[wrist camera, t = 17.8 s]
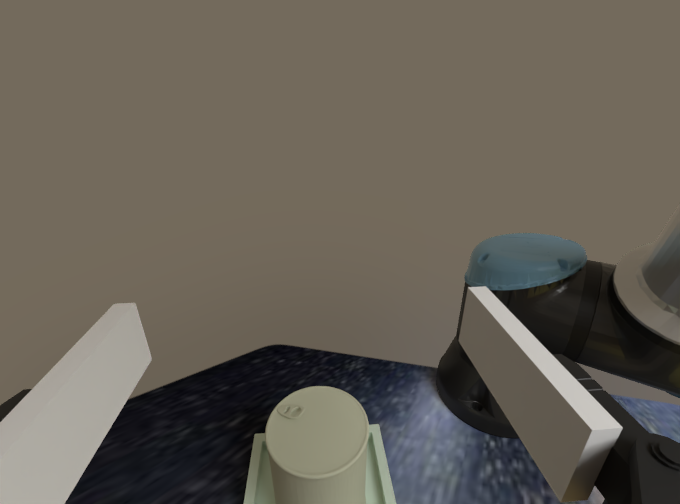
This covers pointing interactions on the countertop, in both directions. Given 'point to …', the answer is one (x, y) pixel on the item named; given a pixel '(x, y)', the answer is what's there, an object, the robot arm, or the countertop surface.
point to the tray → (376, 485)
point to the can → (318, 447)
